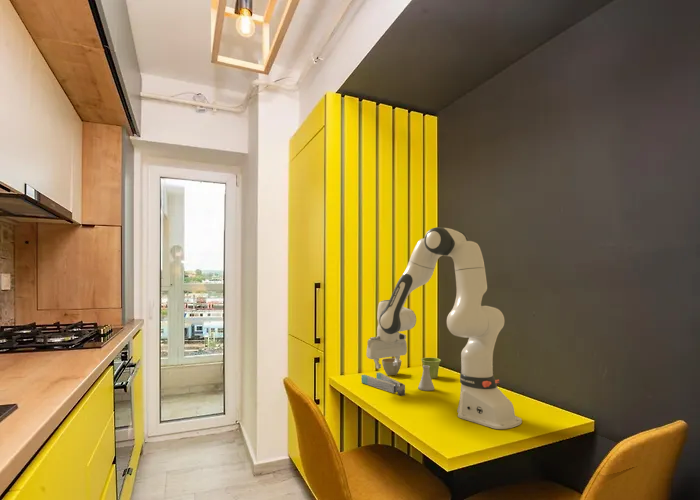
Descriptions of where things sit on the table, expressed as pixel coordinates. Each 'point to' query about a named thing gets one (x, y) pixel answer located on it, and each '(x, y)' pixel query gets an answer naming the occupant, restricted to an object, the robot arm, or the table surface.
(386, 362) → the flower pot
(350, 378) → the table surface
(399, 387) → the tong pivot
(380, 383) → the upper tong arm
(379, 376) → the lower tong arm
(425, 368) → the flask
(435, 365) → the plant pot
